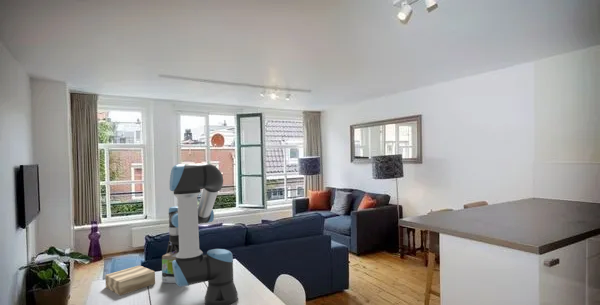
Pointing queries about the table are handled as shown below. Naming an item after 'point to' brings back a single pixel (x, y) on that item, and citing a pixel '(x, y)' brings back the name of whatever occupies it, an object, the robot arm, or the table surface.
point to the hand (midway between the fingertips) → (177, 271)
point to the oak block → (130, 279)
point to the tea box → (168, 267)
